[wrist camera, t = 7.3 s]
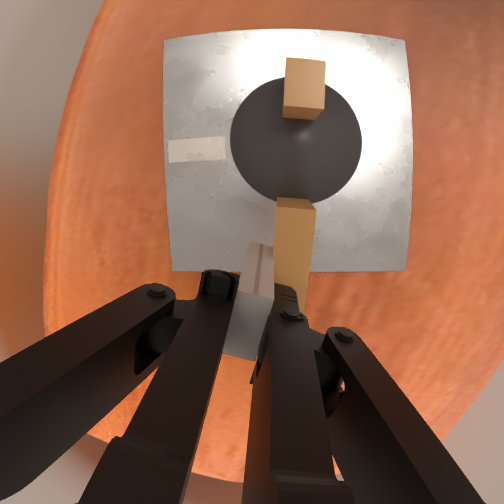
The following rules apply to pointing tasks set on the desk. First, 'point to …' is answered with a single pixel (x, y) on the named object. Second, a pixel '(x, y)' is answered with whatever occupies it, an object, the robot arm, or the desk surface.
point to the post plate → (233, 184)
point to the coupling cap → (296, 158)
